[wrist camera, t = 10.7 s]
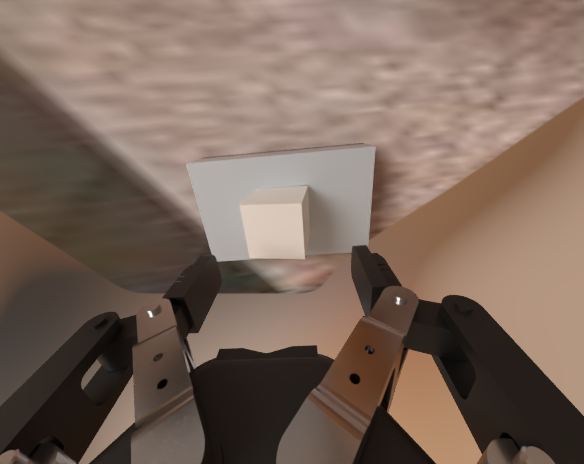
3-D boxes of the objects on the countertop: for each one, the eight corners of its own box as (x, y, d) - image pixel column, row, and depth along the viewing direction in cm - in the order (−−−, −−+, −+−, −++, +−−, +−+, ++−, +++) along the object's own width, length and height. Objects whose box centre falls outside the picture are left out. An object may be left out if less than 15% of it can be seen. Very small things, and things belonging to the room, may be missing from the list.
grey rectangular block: (362, 143, 21) (375, 146, 18) (357, 234, 26) (367, 251, 22) (203, 157, 22) (185, 163, 19) (225, 243, 27) (213, 261, 23)
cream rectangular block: (310, 179, 21) (301, 203, 15) (312, 220, 23) (305, 259, 17) (266, 180, 22) (239, 204, 16) (271, 221, 24) (249, 258, 18)
